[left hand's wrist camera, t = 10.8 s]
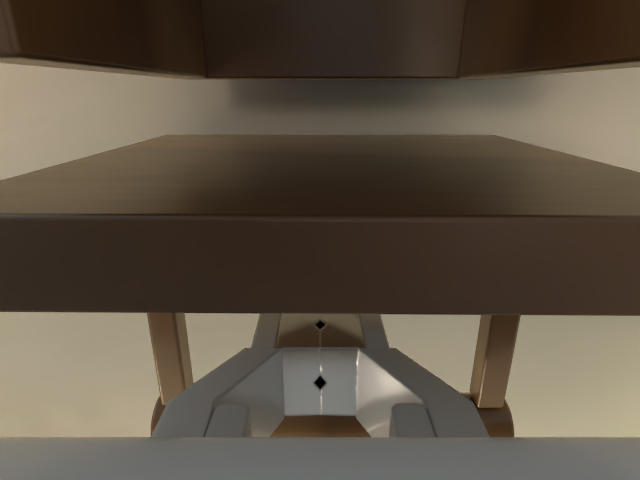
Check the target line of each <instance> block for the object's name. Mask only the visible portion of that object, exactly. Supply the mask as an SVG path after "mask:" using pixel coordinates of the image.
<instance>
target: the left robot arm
mask: <svg viewBox="0 0 640 480" xmlns="http://www.w3.org/2000/svg"><path fill="white" fill-rule="evenodd" d="M307 415H333V416H356V418H357V420H358V421H359V422H360V423H361V425H362V426H363V427H364V428H365V430H366V431H367V432H368V433H369V435H370V436H371V437H270V436H271V434H272V433H273V432H274V431H275V429H276V428H277V427H278V426H279V424H280V423H281V422H282V421H283V419H284V416H307ZM0 480H640V437H490V436H489V434H488V432H487V430H486V428H485V426H484V424H483V422H482V419H481V417H480V415H479V413H478V411H477V409H476V407H475V405H474V403H473V402H472V401H471V400H469V399H468V398H466V397H465V396H464V395H462V394H461V393H459V392H458V391H456V390H455V389H454V388H452V387H451V386H449V385H448V384H446V383H445V382H443V381H442V380H441V379H439V378H438V377H436V376H435V375H433V374H432V373H430V372H429V371H428V370H426V369H425V368H423V367H422V366H420V365H419V364H417V363H416V362H415V361H413V360H412V359H410V358H409V357H407V356H406V355H405V354H403V353H402V352H400V351H399V350H397V349H396V348H389V344H388V340H387V337H386V333H385V329H384V326H383V322H382V318H381V315H380V314H286V313H260V316H259V319H258V323H257V327H256V331H255V334H254V338H253V342H252V346H251V348H245V349H243V350H242V351H240V352H239V353H237V354H236V355H235V356H233V357H232V358H230V359H229V360H227V361H226V362H224V363H223V364H222V365H220V366H219V367H217V368H216V369H214V370H213V371H211V372H210V373H208V374H207V375H206V376H204V377H203V378H201V379H200V380H198V381H197V382H195V383H194V384H193V385H191V386H190V387H188V388H187V389H185V390H184V391H182V392H181V393H180V394H178V395H177V396H175V397H174V398H172V399H171V400H169V401H168V403H167V405H166V407H165V409H164V411H163V413H162V415H161V417H160V419H159V421H158V423H157V425H156V427H155V429H154V431H153V433H152V435H151V437H0Z"/></svg>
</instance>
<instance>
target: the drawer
mask: <svg viewBox="0 0 640 480" xmlns="http://www.w3.org/2000/svg"><path fill="white" fill-rule="evenodd" d="M0 63H10V64H21V65H32V66H44V67H55V68H66V69H77V70H88V71H100V72H111V73H122V74H133V75H145V76H156V77H167V78H178V79H270V80H478V79H491V78H504V77H516V76H529V75H542V74H555V73H568V72H580V71H593V70H606V69H619V68H631V67H640V0H0ZM0 312H121V313H147V316H148V322H149V329H150V335H151V341H152V347H153V353H154V359H155V365H156V372H157V378H158V384H159V390H160V396H159V398H158V400H157V402H156V405H155V408H154V411H153V415H152V421H151V435H152V433H153V431H154V429H155V427H156V425H157V423H158V421H159V419H160V417H161V415H162V413H163V411H164V409H165V407H166V405H167V403H168V401H169V400H171V399H172V398H174V397H175V396H177V395H178V394H180V393H181V392H182V391H184V390H185V389H187V388H188V387H190V386H191V385H193V377H192V369H191V361H190V353H189V345H188V338H187V330H186V322H185V314H184V313H286V314H450V315H481V320H480V326H479V333H478V339H477V346H476V352H475V359H474V365H473V372H472V378H471V385H470V393H461V394H462V395H464V396H465V397H466V398H468V399H469V400H471V401H472V402H473V403H474V405H475V407H476V409H477V411H478V413H479V415H480V417H481V419H482V422H483V424H484V426H485V428H486V430H487V432H488V434H489V436H490V437H514V426H513V420H512V415H511V412H510V409H509V406H508V404H507V402H506V400H505V394H506V388H507V383H508V378H509V373H510V368H511V362H512V357H513V352H514V347H515V342H516V336H517V331H518V326H519V321H520V315H614V316H640V172H636V171H632V170H628V169H624V168H620V167H616V166H612V165H608V164H605V163H601V162H597V161H593V160H589V159H585V158H581V157H577V156H573V155H569V154H566V153H562V152H558V151H554V150H550V149H546V148H542V147H538V146H534V145H531V144H527V143H523V142H519V141H515V140H511V139H507V138H503V137H499V136H474V135H165V136H161V137H157V138H154V139H150V140H146V141H143V142H139V143H135V144H132V145H128V146H125V147H121V148H117V149H114V150H110V151H106V152H103V153H99V154H95V155H92V156H88V157H85V158H81V159H77V160H74V161H70V162H66V163H63V164H59V165H55V166H52V167H48V168H45V169H41V170H37V171H34V172H30V173H26V174H23V175H19V176H15V177H12V178H8V179H5V180H1V181H0ZM270 437H371V436H370V435H369V433H368V432H367V431H366V430H365V428H364V427H363V426H362V425H361V423H360V422H359V421H358V420H357V418H356V416H333V415H307V416H284V419H283V421H282V422H281V423H280V424H279V426H278V427H277V428H276V429H275V431H274V432H273V433H272V434H271V436H270Z"/></svg>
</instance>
